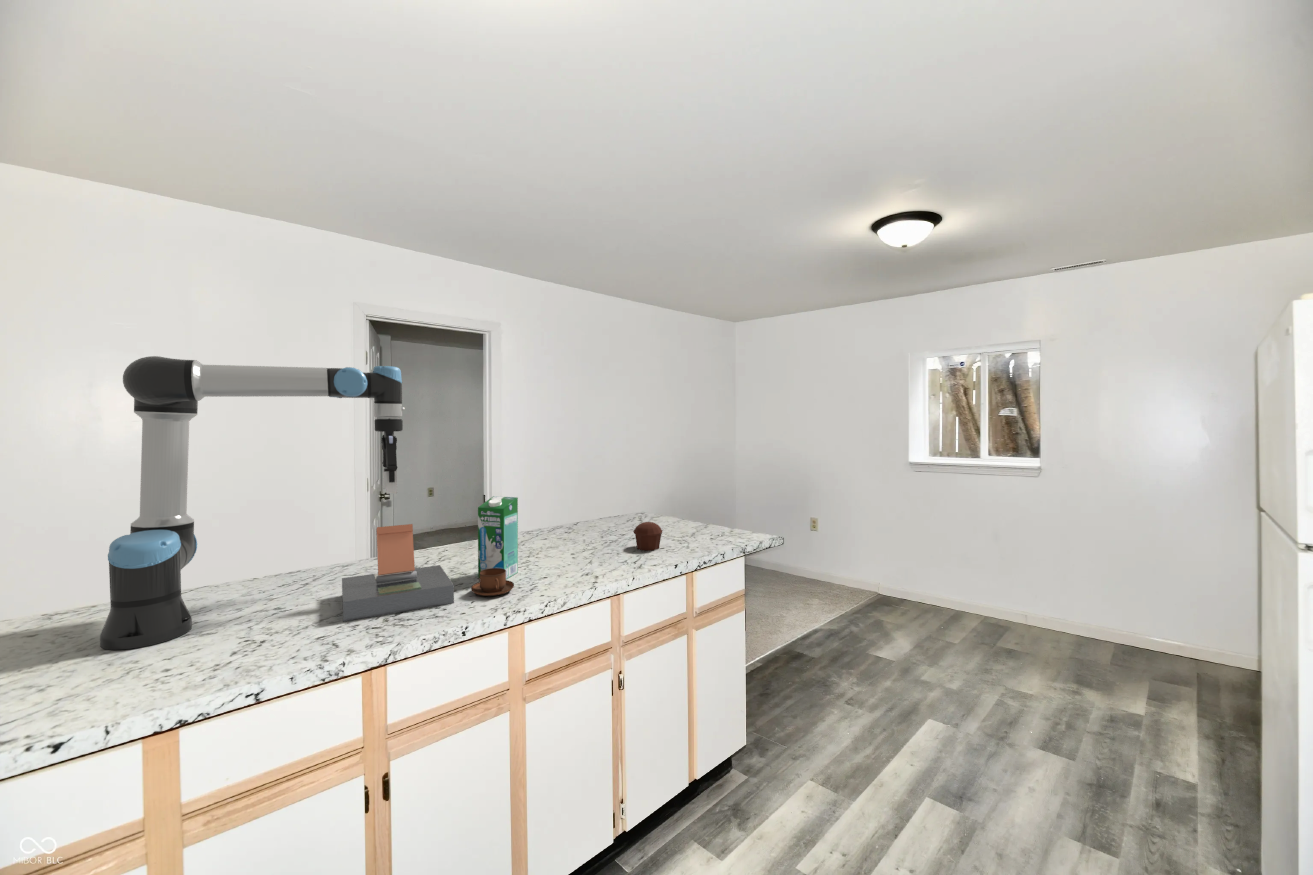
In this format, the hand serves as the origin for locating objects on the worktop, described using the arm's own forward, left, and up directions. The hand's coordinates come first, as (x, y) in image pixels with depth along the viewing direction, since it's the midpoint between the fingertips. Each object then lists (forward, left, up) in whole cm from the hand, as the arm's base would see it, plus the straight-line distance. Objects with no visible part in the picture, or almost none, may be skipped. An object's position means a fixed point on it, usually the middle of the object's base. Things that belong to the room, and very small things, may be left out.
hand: (390, 490), depth 157 cm
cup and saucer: (+33, +7, -29) cm, 44 cm away
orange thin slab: (+13, -9, -22) cm, 27 cm away
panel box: (+13, -9, -28) cm, 32 cm away
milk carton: (+24, +20, -29) cm, 42 cm away
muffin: (+53, +73, -29) cm, 95 cm away
